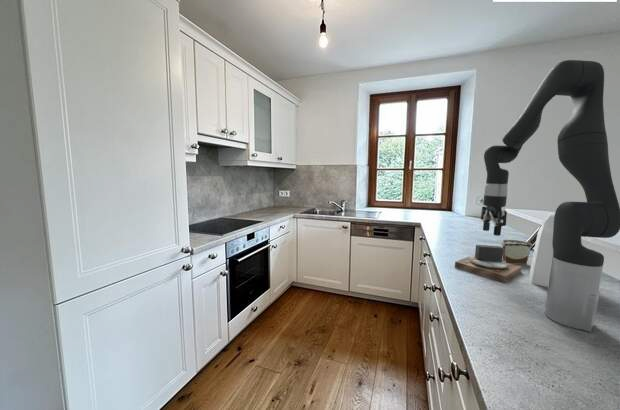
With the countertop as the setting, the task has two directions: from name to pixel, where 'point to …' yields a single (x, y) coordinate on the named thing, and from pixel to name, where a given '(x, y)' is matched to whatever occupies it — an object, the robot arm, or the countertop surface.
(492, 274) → the wooden board
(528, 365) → the countertop surface
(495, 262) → the dial
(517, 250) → the food container
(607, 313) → the countertop surface
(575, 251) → the robot arm
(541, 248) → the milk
